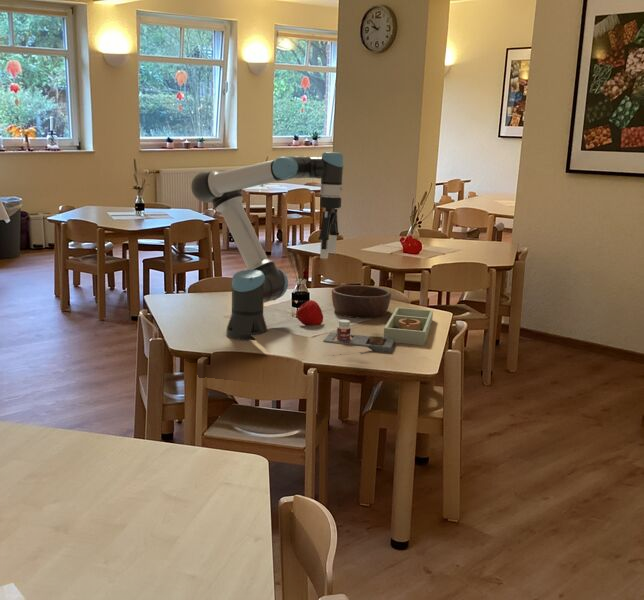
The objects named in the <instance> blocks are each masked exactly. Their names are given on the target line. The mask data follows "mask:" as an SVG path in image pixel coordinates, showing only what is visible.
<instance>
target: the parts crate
mask: <svg viewBox="0 0 644 600" xmlns="http://www.w3.org/2000/svg"><path fill="white" fill-rule="evenodd" d="M433 316H434V310H432V309H431V310H430V309H423V308H422V309H420V308H410V307H409V308H408V307H401V306H400V307H396V308H395V309H394V310H393V313H392V314H391V316H390V318H389V319H388V321H387V322H386V324H385V326H384V328H383V338H391V339H395V343H396V344H397V343H398V344H406V345H407V344H408V345H417V346H418V345H419V346H425V345H426V341H427V337H428V335H429V333H430V328H431V325H432V322H433V319H434V318H433ZM400 319H407V321H410V319H416V320H419V321H420V331H416V330H406V329H398V328H399V320H400ZM395 327H398V328H395Z"/></svg>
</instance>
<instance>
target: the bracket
mask: <svg viewBox="0 0 644 600" xmlns="http://www.w3.org/2000/svg"><path fill="white" fill-rule="evenodd" d="M397 329H406V330H416V331H421V329H420V321H419V320H416V319H410V321H407V319H400V320H399V327H398V328H397Z"/></svg>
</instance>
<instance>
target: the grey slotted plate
mask: <svg viewBox="0 0 644 600" xmlns="http://www.w3.org/2000/svg"><path fill="white" fill-rule="evenodd" d="M335 338H337V332H330V333H328V335H327V336H326V337H325V338H324V339H323V343H331V344H339V345H340V344H341V345H350V346H357V347H358V346H359V347H366V348H368V349H369V350H370V351H372V352H376V353H377V352H378V353H387V354H388V353H389V354H390V353H392V350H393V348H394V347H395V343H396V342H395V339H391V338H384V337H383V346H382V345H372V344H370V335H362V334H359V335H358V334H351V333H350V338H351V339H350V340H349V341H341V340H334V339H335Z"/></svg>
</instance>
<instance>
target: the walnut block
mask: <svg viewBox="0 0 644 600" xmlns="http://www.w3.org/2000/svg"><path fill="white" fill-rule="evenodd" d="M369 336H370V343H369V344H372V345H382V346H383V345H384V344H383V338H384V333H377V332H370V333H369Z"/></svg>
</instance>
